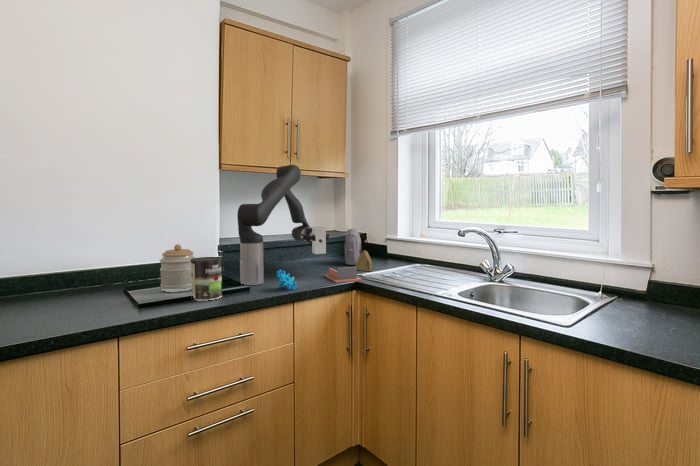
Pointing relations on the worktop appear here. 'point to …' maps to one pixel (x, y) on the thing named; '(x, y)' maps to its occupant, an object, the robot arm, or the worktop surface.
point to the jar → (176, 268)
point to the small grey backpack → (352, 246)
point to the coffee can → (206, 278)
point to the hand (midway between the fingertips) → (320, 238)
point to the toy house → (364, 262)
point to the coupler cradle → (343, 275)
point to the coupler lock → (319, 240)
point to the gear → (285, 280)
